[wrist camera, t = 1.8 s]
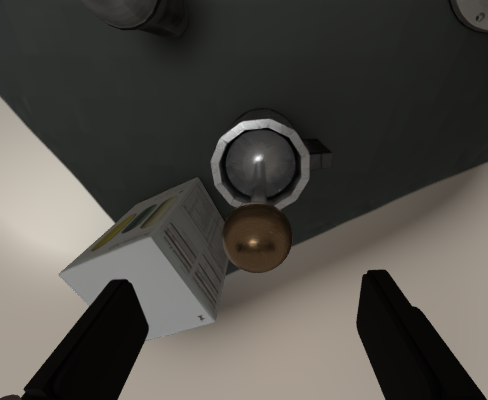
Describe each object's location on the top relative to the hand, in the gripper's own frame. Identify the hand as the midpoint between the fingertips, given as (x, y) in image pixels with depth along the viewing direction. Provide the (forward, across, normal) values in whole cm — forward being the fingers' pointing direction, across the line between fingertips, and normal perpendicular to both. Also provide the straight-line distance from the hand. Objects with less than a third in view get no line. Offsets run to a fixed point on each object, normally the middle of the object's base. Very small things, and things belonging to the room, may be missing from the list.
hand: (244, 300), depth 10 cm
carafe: (+28, -2, -1) cm, 28 cm away
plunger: (+19, -1, 0) cm, 19 cm away
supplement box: (+29, +14, +12) cm, 34 cm away
